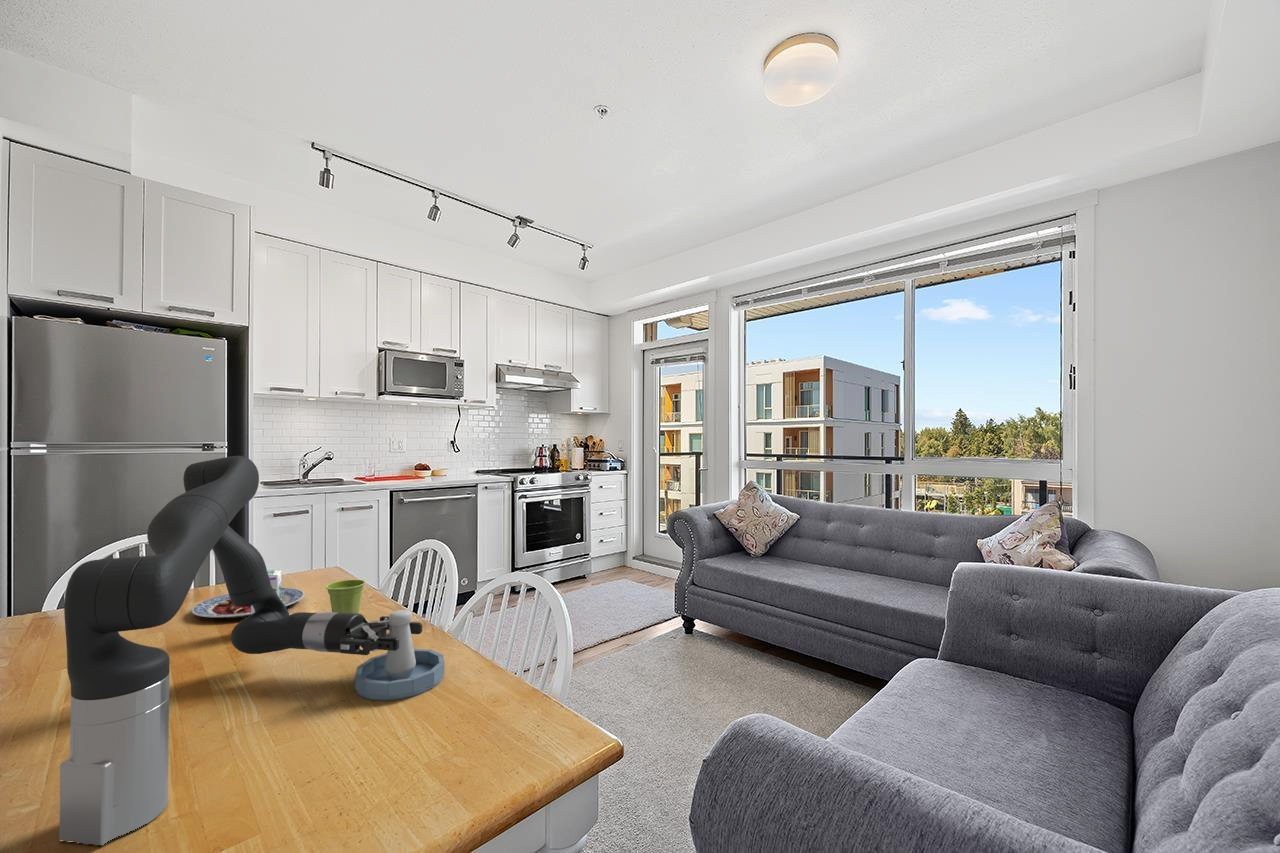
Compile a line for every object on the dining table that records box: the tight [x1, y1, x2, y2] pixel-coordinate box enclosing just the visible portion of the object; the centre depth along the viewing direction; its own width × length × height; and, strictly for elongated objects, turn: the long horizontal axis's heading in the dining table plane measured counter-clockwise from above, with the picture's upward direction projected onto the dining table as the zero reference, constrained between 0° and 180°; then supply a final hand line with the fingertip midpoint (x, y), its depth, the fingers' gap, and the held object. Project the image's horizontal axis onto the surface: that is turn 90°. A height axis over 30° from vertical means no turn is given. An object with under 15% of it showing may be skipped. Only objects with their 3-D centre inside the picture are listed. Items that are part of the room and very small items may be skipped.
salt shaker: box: [384, 609, 416, 681], centre depth 109 cm, size 6×6×13 cm
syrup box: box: [251, 569, 282, 614], centre depth 136 cm, size 6×6×14 cm
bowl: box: [354, 648, 445, 702], centre depth 109 cm, size 16×16×3 cm
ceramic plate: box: [191, 587, 305, 619], centre depth 154 cm, size 26×26×3 cm
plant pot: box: [325, 579, 366, 614], centre depth 148 cm, size 9×9×9 cm
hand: (410, 636), depth 109 cm, fingers open, 8 cm apart
